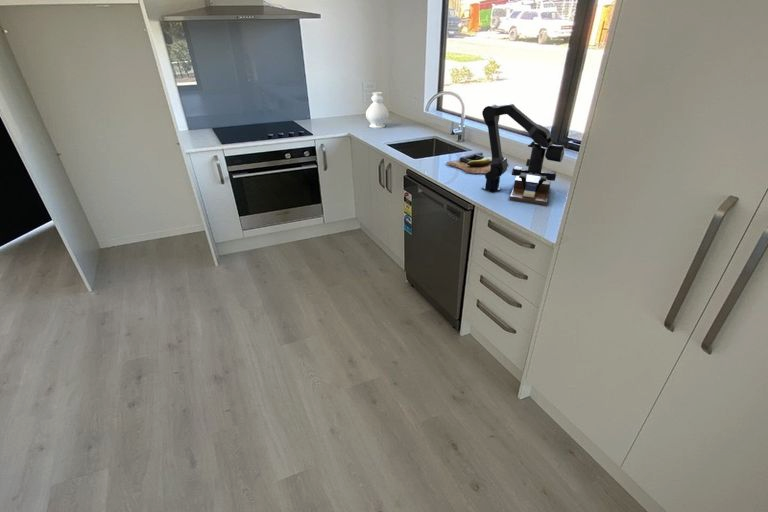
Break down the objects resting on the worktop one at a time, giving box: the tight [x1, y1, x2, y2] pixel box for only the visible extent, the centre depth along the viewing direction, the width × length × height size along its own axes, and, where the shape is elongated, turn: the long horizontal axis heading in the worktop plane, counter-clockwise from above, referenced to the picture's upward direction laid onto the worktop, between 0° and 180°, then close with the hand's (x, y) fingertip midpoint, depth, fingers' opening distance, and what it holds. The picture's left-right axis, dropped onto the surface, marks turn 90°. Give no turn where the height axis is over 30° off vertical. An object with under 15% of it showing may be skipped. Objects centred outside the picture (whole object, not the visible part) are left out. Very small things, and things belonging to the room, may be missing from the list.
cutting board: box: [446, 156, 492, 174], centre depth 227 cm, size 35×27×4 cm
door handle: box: [458, 151, 492, 163], centre depth 233 cm, size 3×20×16 cm
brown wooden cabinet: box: [509, 175, 552, 207], centre depth 188 cm, size 24×16×6 cm, turn 157°
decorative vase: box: [365, 91, 390, 129], centre depth 309 cm, size 18×18×25 cm
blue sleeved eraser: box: [523, 183, 537, 198], centre depth 182 cm, size 9×5×4 cm, turn 157°
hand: (530, 191), depth 183 cm, fingers closed on blue sleeved eraser, 4 cm apart
